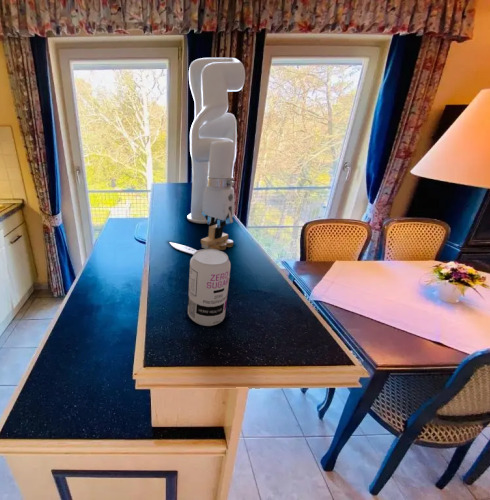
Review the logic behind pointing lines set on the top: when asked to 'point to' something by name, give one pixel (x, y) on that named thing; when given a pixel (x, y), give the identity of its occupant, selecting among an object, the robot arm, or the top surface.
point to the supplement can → (208, 286)
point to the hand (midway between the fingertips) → (215, 235)
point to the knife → (184, 248)
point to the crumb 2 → (228, 243)
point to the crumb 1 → (214, 247)
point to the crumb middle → (221, 245)
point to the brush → (212, 238)
